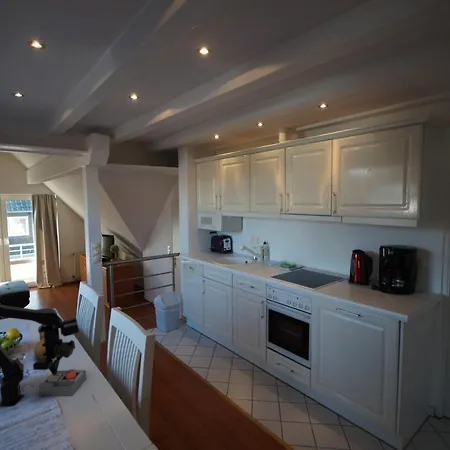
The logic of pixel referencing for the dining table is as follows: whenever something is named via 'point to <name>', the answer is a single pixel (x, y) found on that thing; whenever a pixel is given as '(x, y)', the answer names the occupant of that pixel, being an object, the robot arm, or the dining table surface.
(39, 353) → the potato
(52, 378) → the on key
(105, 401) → the dining table surface
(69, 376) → the button
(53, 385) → the grey flat box
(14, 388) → the robot arm
